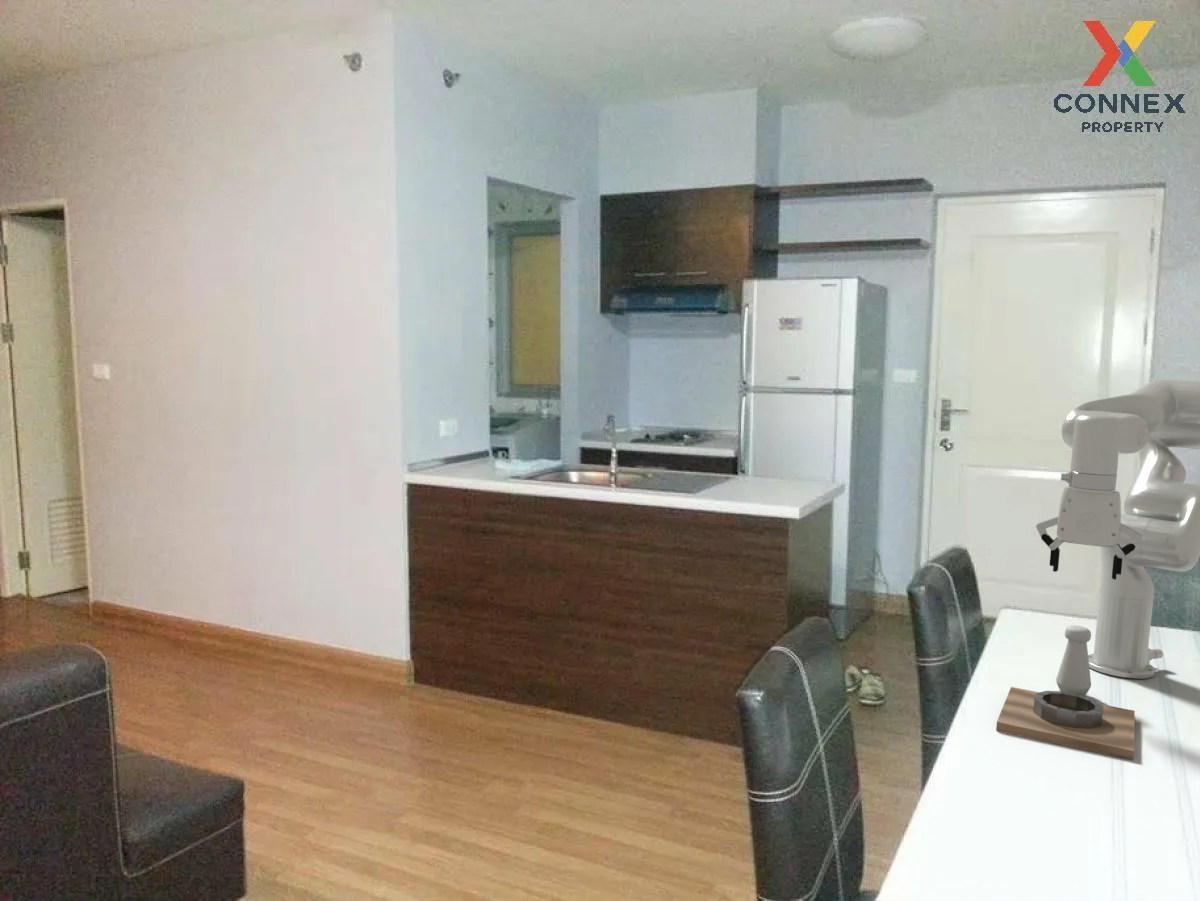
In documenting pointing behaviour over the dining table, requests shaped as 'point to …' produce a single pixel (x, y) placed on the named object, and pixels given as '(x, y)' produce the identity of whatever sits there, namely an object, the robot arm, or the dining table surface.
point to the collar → (1083, 717)
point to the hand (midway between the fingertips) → (1084, 574)
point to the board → (1104, 739)
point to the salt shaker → (1075, 662)
